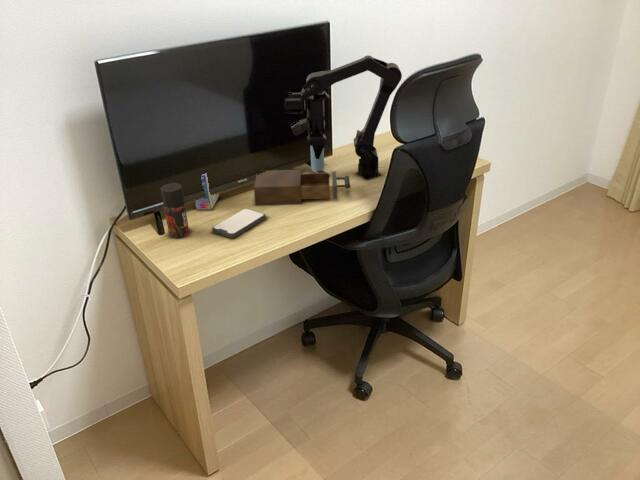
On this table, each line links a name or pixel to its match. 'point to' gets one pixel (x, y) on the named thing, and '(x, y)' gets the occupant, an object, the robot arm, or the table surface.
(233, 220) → the phone case
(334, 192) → the drawer
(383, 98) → the robot arm
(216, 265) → the table surface
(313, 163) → the glue bottle
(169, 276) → the table surface
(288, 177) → the cabinet
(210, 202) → the ink cartridge box
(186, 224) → the deodorant
